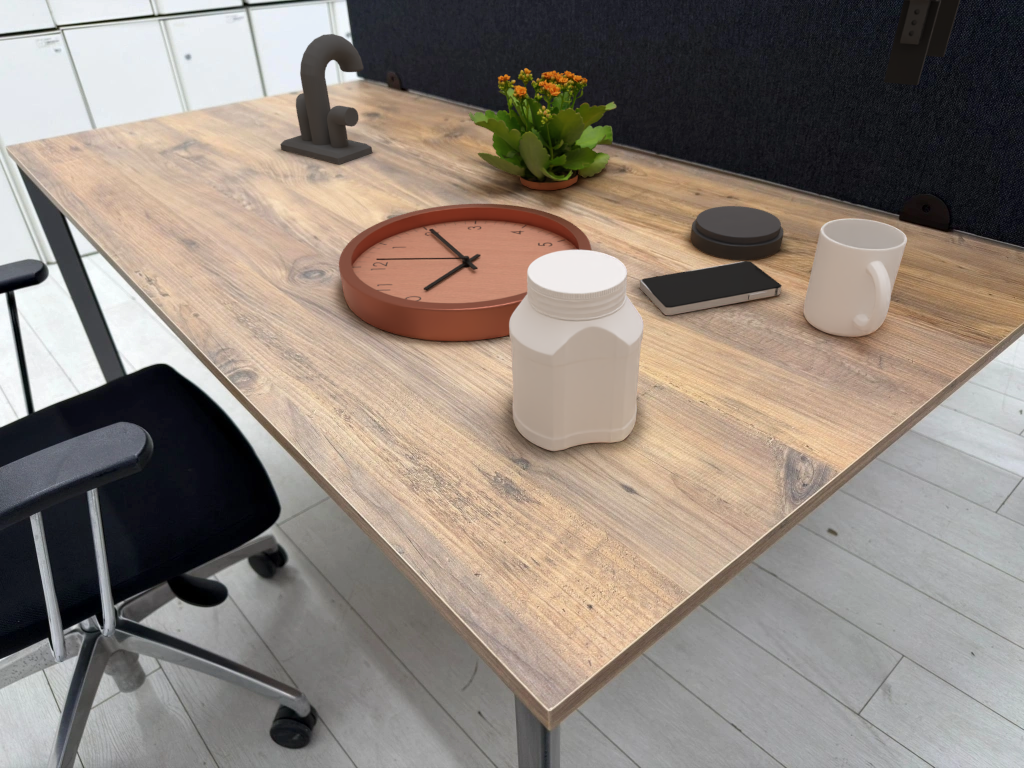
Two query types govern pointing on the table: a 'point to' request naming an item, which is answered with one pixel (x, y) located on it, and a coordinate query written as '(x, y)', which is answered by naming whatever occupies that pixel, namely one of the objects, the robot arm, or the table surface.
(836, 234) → the mug
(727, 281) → the smartphone
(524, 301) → the jar
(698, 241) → the stand
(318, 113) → the faucet
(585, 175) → the potted flower
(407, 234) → the clock
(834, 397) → the table surface
